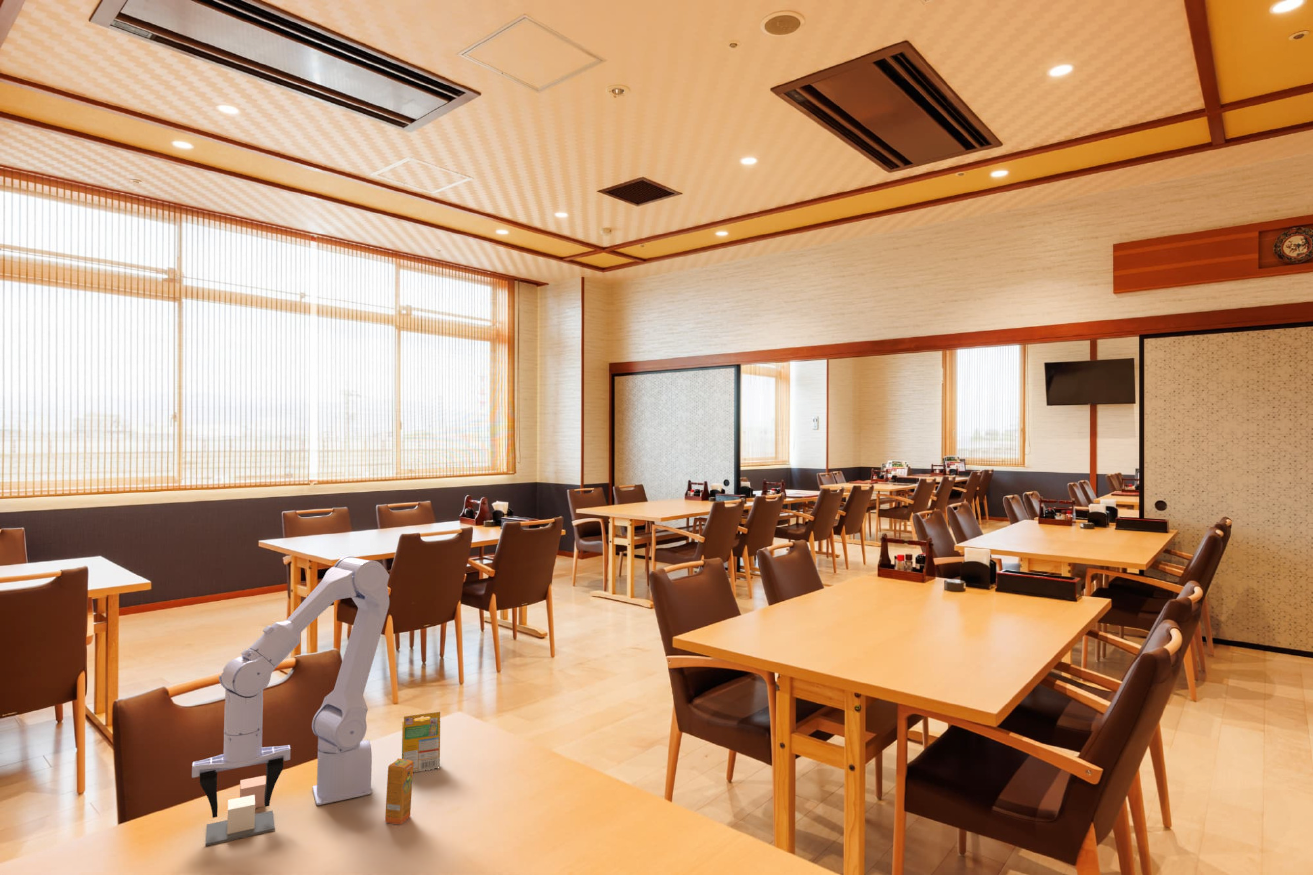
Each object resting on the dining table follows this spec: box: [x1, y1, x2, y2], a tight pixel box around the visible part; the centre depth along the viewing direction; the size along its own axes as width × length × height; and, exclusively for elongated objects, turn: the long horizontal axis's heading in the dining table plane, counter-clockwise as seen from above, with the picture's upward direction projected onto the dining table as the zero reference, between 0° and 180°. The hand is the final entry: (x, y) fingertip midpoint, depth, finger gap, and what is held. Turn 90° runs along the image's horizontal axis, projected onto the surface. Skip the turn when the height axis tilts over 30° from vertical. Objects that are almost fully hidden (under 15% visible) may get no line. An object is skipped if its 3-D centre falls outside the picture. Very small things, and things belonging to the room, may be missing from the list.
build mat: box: [205, 810, 276, 847], centre depth 122 cm, size 10×7×1 cm
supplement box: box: [384, 758, 414, 826], centre depth 126 cm, size 3×3×10 cm
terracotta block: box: [239, 775, 266, 809], centre depth 131 cm, size 4×4×4 cm
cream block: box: [226, 795, 256, 834], centre depth 123 cm, size 4×4×4 cm
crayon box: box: [401, 711, 441, 773], centre depth 147 cm, size 7×3×12 cm, turn 114°
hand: (241, 809), depth 123 cm, fingers open, 7 cm apart
